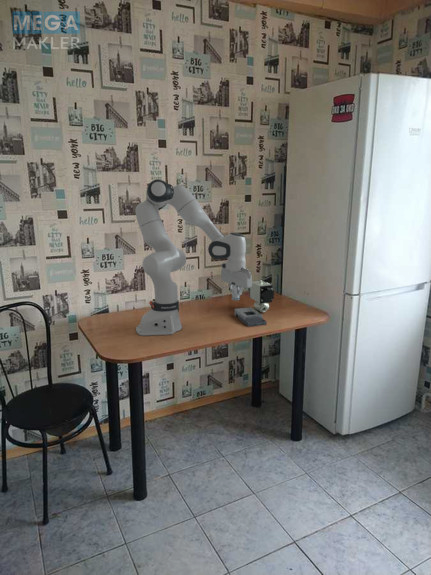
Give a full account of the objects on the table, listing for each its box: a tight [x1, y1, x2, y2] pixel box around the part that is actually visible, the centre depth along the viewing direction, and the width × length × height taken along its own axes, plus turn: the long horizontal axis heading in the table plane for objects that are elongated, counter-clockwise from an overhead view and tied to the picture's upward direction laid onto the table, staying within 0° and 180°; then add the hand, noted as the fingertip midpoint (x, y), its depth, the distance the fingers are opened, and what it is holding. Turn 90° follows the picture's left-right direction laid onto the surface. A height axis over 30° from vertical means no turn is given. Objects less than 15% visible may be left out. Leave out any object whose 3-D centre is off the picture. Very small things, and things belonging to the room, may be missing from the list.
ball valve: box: [247, 279, 275, 313], centre depth 232 cm, size 18×8×18 cm, turn 22°
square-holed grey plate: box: [234, 306, 267, 328], centre depth 219 cm, size 10×20×4 cm, turn 17°
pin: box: [231, 282, 241, 302], centre depth 206 cm, size 5×5×9 cm
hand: (236, 293), depth 207 cm, fingers closed on pin, 4 cm apart
